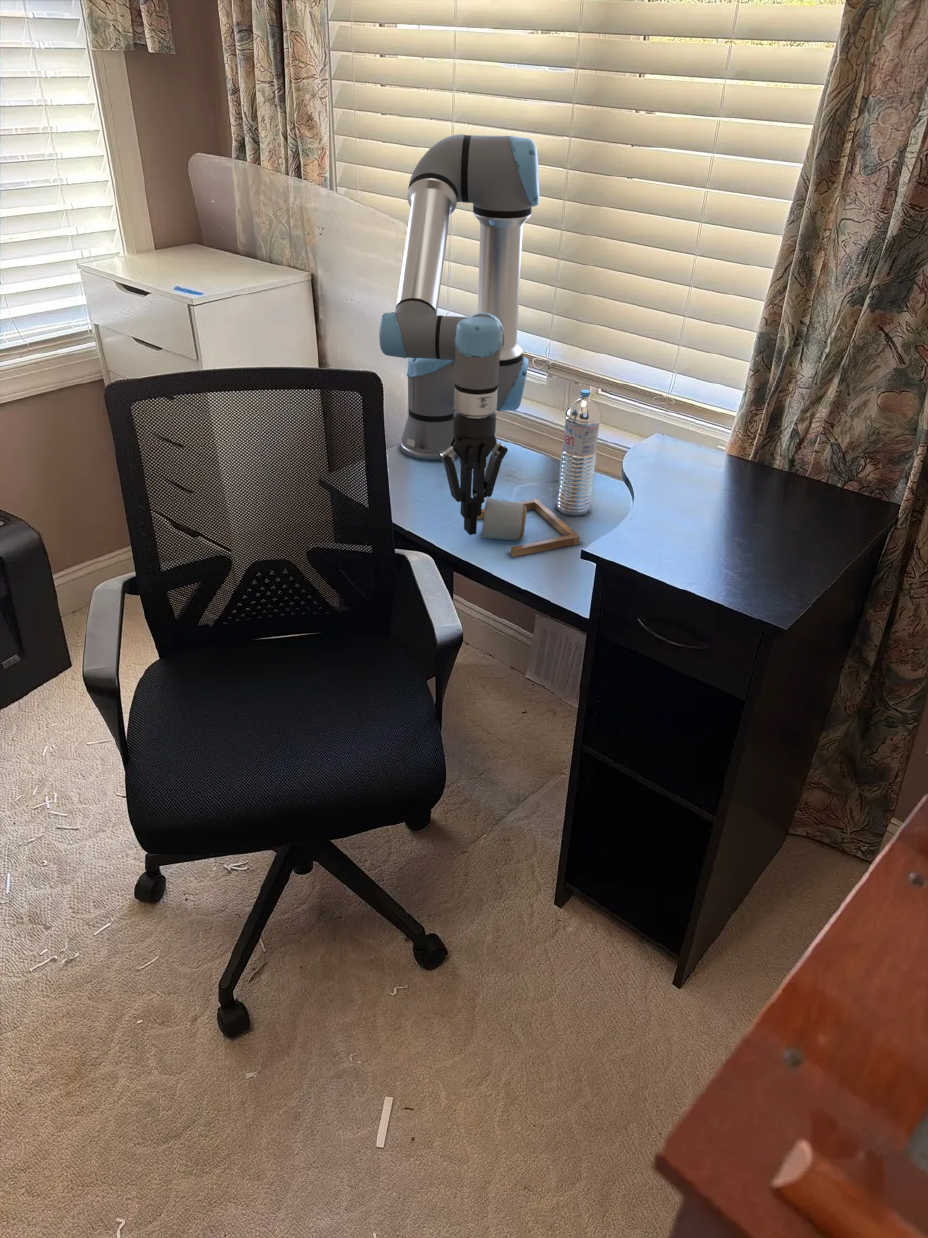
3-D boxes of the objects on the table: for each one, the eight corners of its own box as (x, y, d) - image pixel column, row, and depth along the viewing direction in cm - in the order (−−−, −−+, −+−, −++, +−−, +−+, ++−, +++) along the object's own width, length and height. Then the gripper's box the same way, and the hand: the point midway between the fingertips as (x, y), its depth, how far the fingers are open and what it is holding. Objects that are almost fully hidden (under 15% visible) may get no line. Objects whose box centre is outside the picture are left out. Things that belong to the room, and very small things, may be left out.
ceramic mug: (523, 547, 162) (527, 511, 157) (480, 544, 162) (483, 507, 158) (523, 522, 171) (526, 487, 166) (482, 520, 171) (485, 484, 167)
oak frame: (474, 517, 172) (474, 510, 171) (536, 505, 177) (537, 498, 176) (512, 557, 159) (513, 549, 158) (578, 543, 164) (579, 536, 163)
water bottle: (555, 501, 179) (566, 384, 165) (588, 502, 178) (602, 385, 164) (556, 516, 173) (568, 396, 159) (590, 517, 173) (605, 398, 159)
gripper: (449, 423, 144) (446, 545, 157) (517, 414, 148) (509, 534, 161) (432, 408, 150) (431, 528, 163) (499, 400, 154) (492, 517, 167)
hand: (470, 531), depth 162 cm, fingers closed
